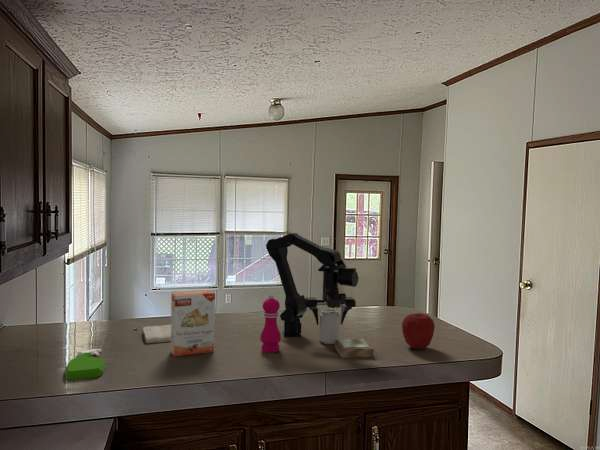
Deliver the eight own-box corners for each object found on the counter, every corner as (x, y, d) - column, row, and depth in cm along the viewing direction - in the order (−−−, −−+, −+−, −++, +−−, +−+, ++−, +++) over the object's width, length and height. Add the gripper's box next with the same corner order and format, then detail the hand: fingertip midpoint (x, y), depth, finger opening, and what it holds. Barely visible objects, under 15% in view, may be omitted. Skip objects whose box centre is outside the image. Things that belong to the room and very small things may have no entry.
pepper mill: (283, 348, 168) (284, 293, 167) (276, 354, 161) (277, 296, 160) (265, 346, 170) (266, 291, 170) (256, 351, 164) (257, 295, 163)
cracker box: (174, 357, 156) (174, 295, 155) (170, 352, 161) (170, 292, 160) (214, 352, 162) (215, 292, 161) (209, 347, 168) (210, 289, 167)
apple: (412, 341, 180) (413, 306, 180) (440, 348, 172) (441, 312, 171) (394, 347, 172) (395, 311, 171) (423, 355, 164) (424, 317, 163)
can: (337, 345, 173) (338, 313, 172) (317, 344, 174) (318, 312, 174) (340, 339, 180) (341, 309, 180) (321, 338, 182) (321, 307, 181)
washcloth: (172, 329, 191) (172, 322, 191) (179, 342, 175) (179, 334, 175) (141, 332, 186) (141, 324, 186) (145, 345, 170) (145, 337, 170)
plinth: (342, 357, 159) (342, 348, 159) (334, 347, 170) (335, 338, 170) (373, 357, 161) (373, 347, 160) (364, 347, 171) (364, 338, 171)
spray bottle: (63, 382, 134) (71, 357, 157) (104, 378, 138) (106, 353, 161) (63, 372, 134) (71, 348, 157) (104, 368, 138) (106, 345, 161)
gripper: (309, 287, 167) (308, 331, 168) (360, 287, 170) (359, 330, 170) (304, 282, 178) (303, 323, 179) (352, 282, 181) (351, 322, 181)
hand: (329, 324), depth 177 cm, fingers open, 9 cm apart
